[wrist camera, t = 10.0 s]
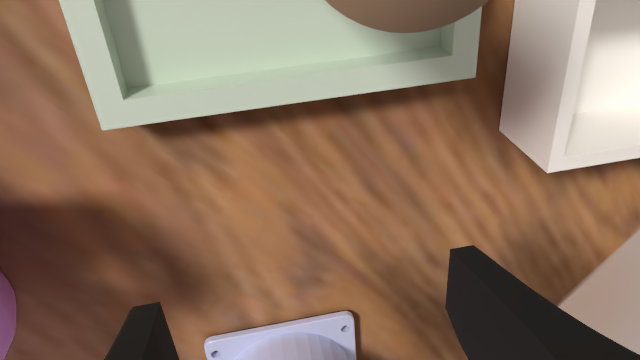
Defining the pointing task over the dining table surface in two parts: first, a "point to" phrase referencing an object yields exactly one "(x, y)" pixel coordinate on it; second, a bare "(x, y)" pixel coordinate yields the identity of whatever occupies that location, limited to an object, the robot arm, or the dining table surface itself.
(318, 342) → the robot arm
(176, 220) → the dining table surface
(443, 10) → the walnut dowel
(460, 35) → the tray
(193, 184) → the dining table surface
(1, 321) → the teakettle
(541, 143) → the square cup
